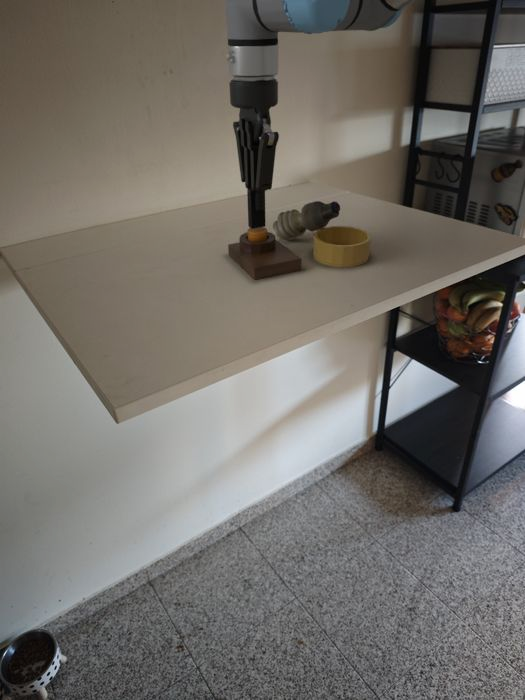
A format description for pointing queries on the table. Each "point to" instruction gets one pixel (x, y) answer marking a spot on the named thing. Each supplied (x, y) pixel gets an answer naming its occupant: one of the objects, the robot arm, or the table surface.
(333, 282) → the table surface
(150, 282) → the table surface
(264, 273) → the switch box
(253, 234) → the lamp button
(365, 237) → the lamp holder
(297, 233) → the light bulb
